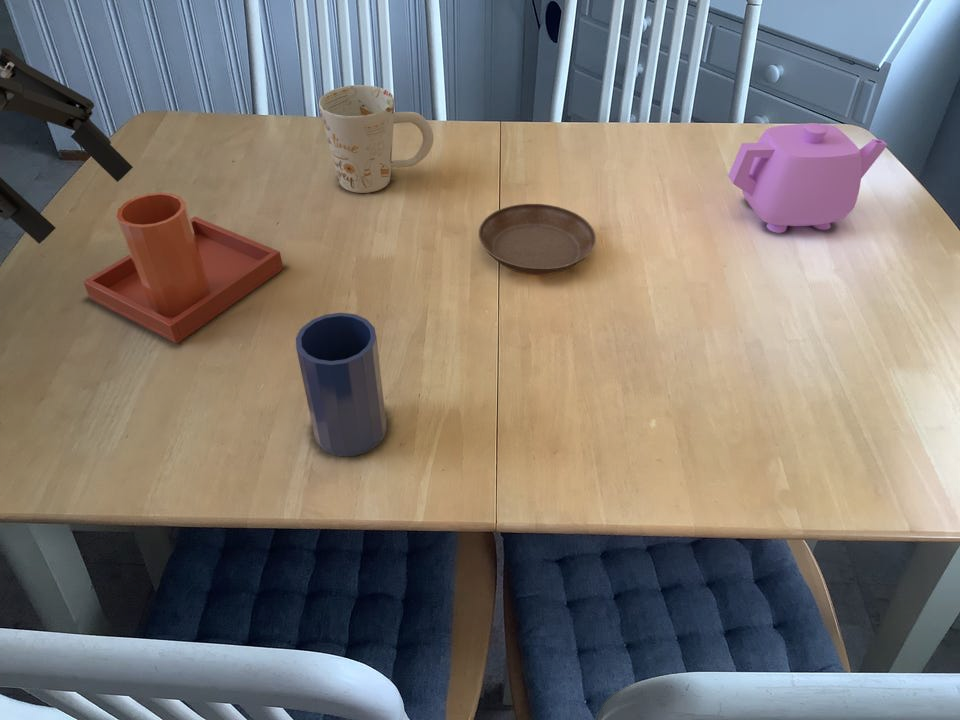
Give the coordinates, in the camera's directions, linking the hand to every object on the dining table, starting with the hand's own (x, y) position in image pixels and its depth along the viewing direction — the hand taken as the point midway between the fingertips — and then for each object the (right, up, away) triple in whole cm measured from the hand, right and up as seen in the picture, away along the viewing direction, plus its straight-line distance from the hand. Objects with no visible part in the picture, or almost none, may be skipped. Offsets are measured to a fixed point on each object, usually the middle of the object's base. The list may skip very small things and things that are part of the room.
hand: (89, 203), depth 83 cm
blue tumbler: (+29, -24, -6) cm, 38 cm away
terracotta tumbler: (+6, -9, +8) cm, 14 cm away
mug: (+28, +10, +31) cm, 42 cm away
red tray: (+6, -7, +12) cm, 15 cm away
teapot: (+85, +3, +24) cm, 88 cm away
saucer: (+49, -3, +17) cm, 52 cm away
